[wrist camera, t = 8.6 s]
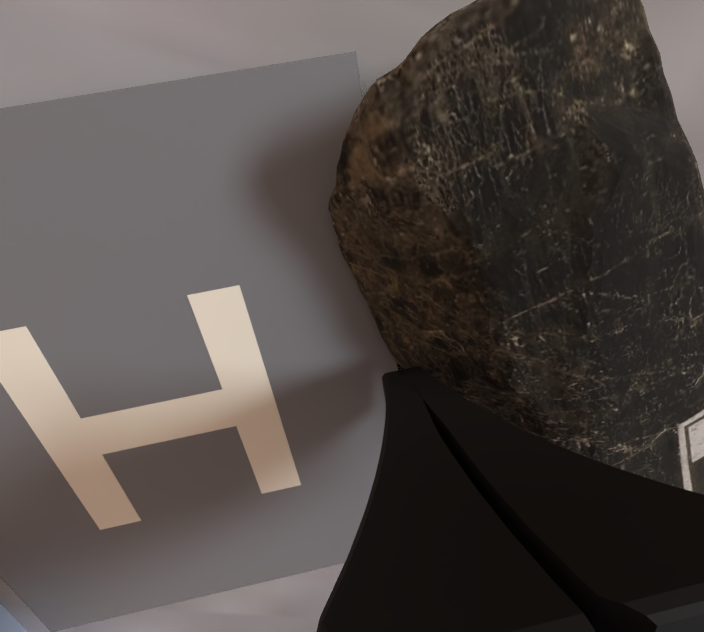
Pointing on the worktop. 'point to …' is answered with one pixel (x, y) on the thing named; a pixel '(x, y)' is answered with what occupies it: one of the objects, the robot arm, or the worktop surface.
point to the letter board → (181, 342)
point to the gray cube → (9, 622)
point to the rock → (538, 228)
